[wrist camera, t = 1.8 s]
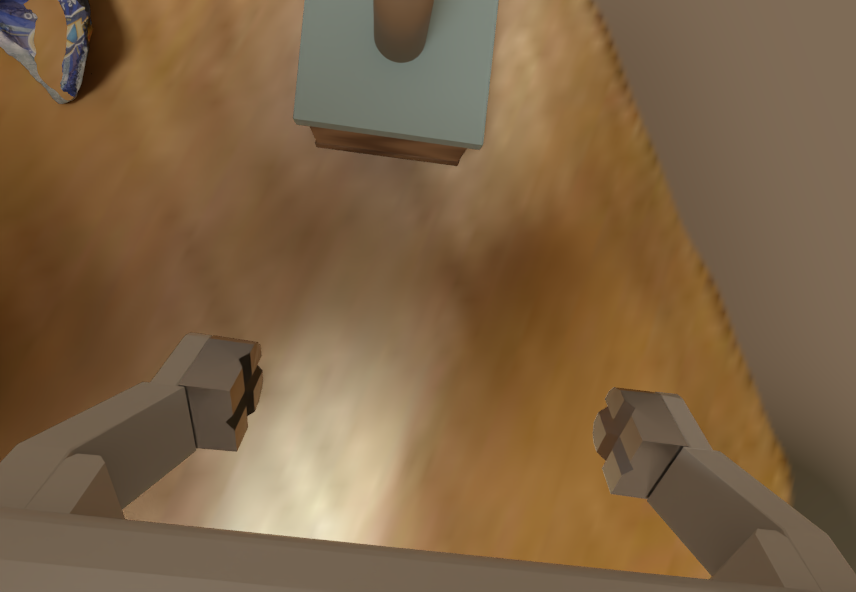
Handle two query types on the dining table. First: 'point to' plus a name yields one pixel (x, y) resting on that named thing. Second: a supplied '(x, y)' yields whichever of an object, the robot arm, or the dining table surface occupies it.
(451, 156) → the tea box
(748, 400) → the dining table surface
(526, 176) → the dining table surface
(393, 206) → the dining table surface
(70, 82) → the snack package
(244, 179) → the dining table surface
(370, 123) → the lid
